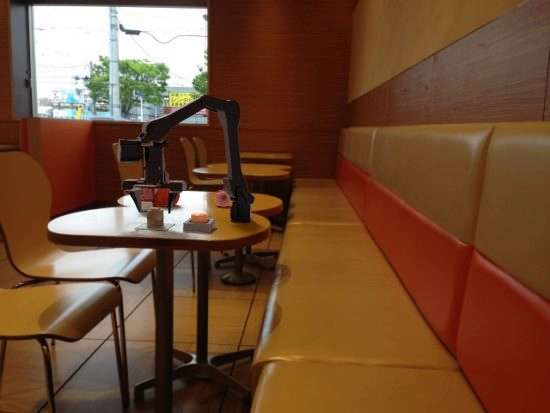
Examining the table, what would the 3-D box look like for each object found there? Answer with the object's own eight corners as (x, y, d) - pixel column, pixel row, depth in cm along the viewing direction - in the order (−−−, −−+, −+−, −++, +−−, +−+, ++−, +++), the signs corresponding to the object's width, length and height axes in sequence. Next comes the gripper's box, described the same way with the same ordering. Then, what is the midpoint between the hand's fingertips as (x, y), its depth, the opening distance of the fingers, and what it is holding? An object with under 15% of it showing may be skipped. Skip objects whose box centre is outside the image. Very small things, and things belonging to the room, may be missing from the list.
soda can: (153, 212, 163) (152, 179, 162) (135, 211, 165) (135, 178, 163) (161, 209, 170) (160, 178, 168) (144, 208, 171) (144, 177, 169)
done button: (209, 222, 141) (209, 213, 140) (205, 226, 136) (205, 216, 135) (193, 222, 141) (193, 212, 140) (189, 225, 136) (189, 215, 136)
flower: (216, 190, 186) (218, 183, 181) (234, 198, 187) (237, 192, 182) (208, 205, 182) (211, 199, 177) (227, 213, 183) (230, 208, 178)
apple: (176, 208, 175) (176, 181, 173) (150, 207, 175) (149, 180, 173) (182, 203, 185) (182, 178, 183) (157, 203, 185) (157, 177, 183)
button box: (214, 226, 142) (214, 218, 142) (209, 232, 134) (209, 223, 134) (189, 225, 143) (189, 218, 142) (183, 231, 135) (183, 222, 134)
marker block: (163, 224, 142) (163, 207, 141) (159, 227, 138) (159, 209, 137) (151, 224, 142) (150, 206, 141) (147, 227, 138) (146, 208, 137)
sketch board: (175, 224, 144) (175, 223, 144) (167, 230, 136) (167, 229, 136) (144, 223, 145) (144, 222, 145) (134, 228, 136) (134, 228, 136)
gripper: (190, 161, 145) (190, 209, 147) (133, 160, 145) (134, 207, 148) (181, 164, 134) (182, 216, 136) (119, 162, 134) (121, 213, 137)
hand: (154, 213), depth 140 cm, fingers open, 9 cm apart
